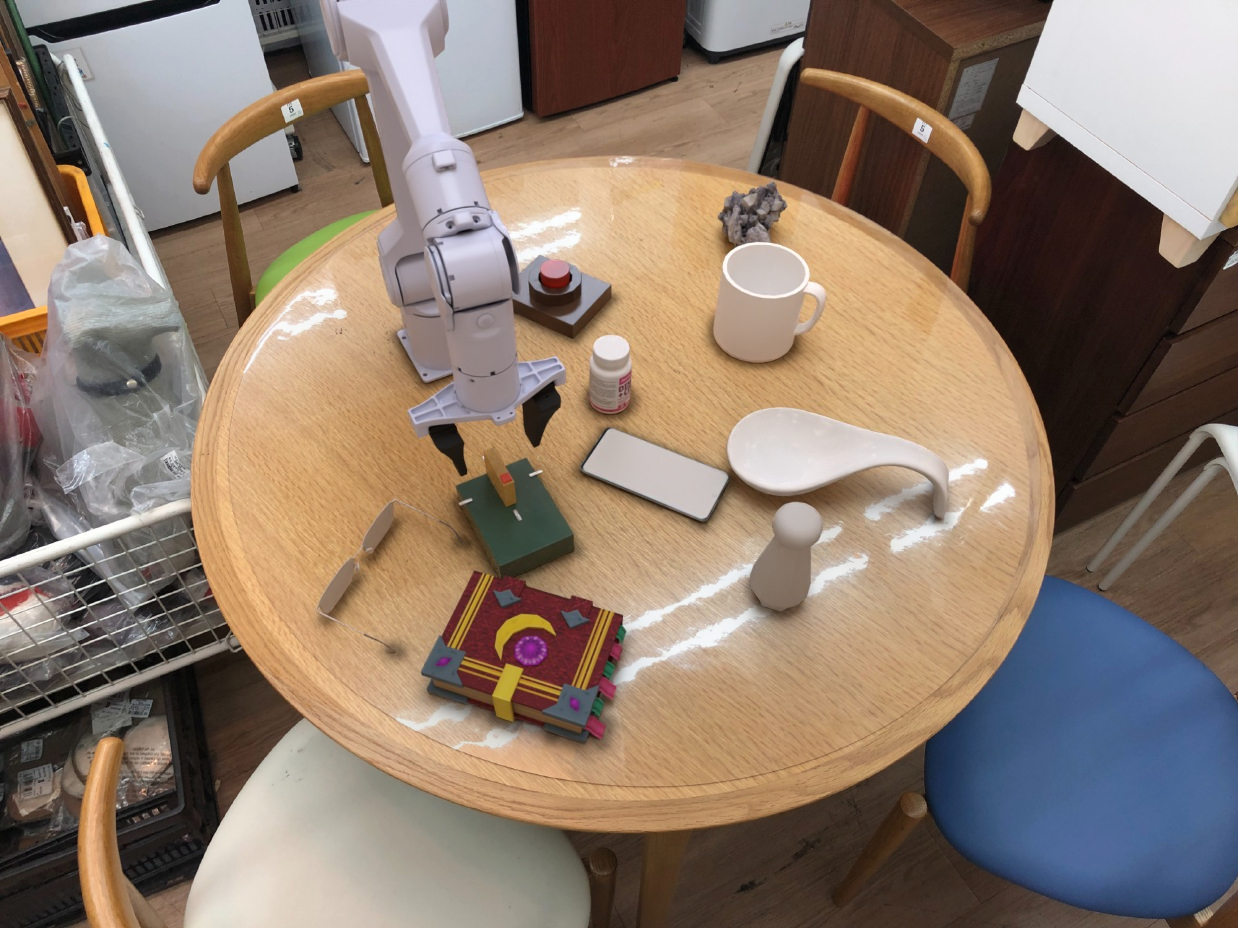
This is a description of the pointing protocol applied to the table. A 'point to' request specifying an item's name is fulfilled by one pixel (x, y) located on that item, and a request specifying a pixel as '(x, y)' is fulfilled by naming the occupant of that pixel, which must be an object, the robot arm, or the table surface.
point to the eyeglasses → (347, 569)
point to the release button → (555, 274)
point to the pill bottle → (610, 374)
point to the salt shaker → (787, 557)
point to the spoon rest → (821, 453)
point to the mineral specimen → (751, 214)
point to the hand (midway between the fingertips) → (496, 454)
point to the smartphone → (656, 473)
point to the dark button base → (560, 299)
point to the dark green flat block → (516, 521)
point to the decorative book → (528, 655)
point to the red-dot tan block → (500, 477)
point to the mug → (763, 301)
